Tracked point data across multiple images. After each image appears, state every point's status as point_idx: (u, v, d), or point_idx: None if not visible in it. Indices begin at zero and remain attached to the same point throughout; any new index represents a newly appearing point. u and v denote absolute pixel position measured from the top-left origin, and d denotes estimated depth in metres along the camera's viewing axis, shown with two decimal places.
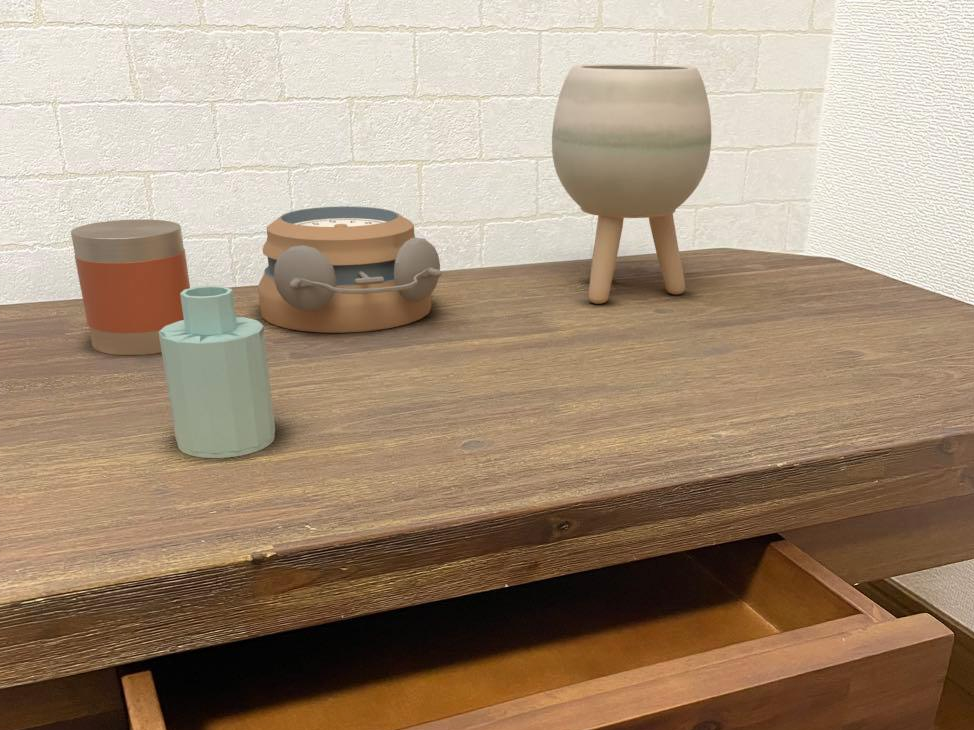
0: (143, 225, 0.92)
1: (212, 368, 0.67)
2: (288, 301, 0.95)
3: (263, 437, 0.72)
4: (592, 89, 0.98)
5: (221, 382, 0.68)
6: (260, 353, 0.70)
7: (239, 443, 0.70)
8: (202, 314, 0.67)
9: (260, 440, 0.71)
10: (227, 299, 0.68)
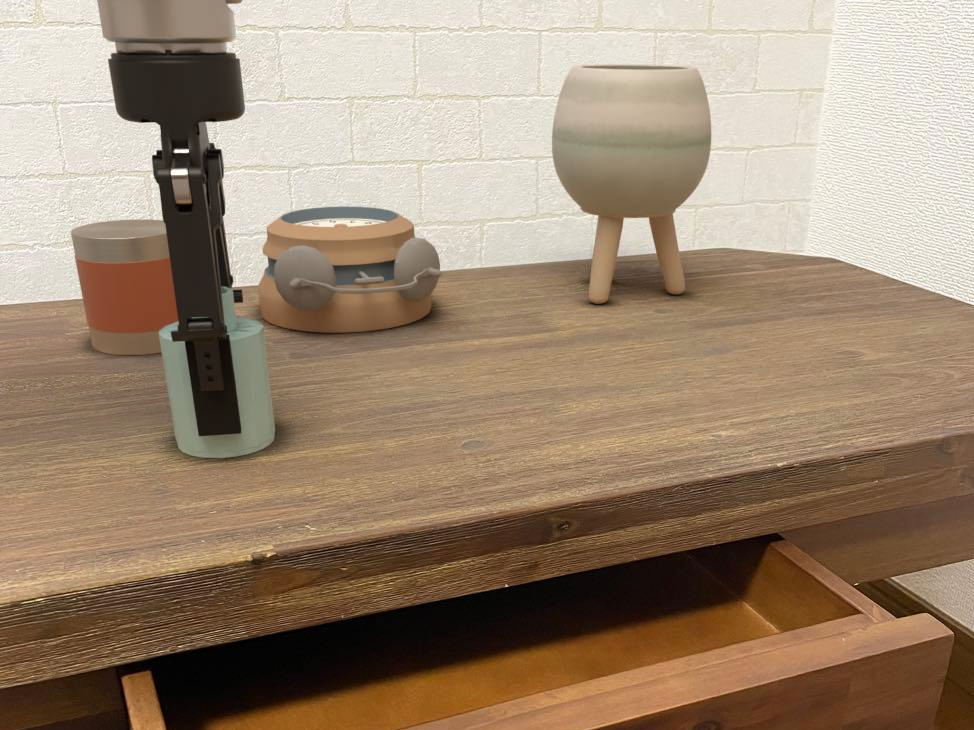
0: (143, 225, 0.92)
1: None
2: (288, 301, 0.95)
3: (263, 437, 0.72)
4: (592, 89, 0.98)
5: None
6: (260, 353, 0.70)
7: (239, 443, 0.70)
8: None
9: (260, 440, 0.71)
10: (227, 299, 0.68)
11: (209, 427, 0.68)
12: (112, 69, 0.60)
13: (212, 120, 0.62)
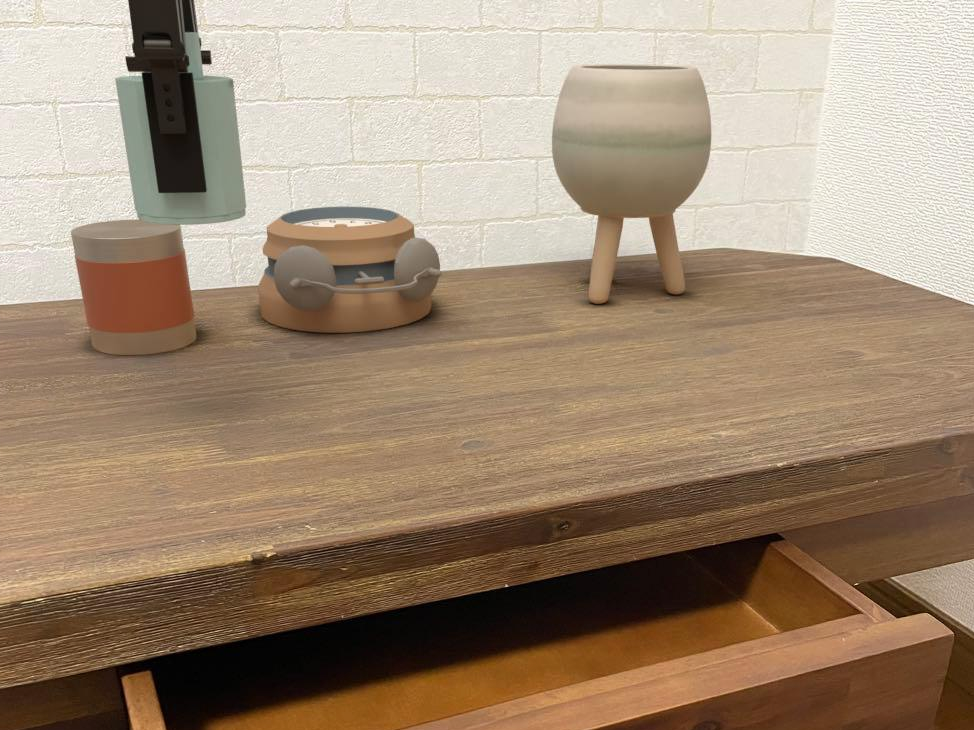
0: (143, 225, 0.92)
1: None
2: (288, 301, 0.95)
3: (232, 207, 0.65)
4: (592, 89, 0.98)
5: None
6: (228, 106, 0.63)
7: (205, 208, 0.63)
8: None
9: (228, 209, 0.64)
10: (191, 39, 0.61)
11: (170, 182, 0.61)
12: None
13: None
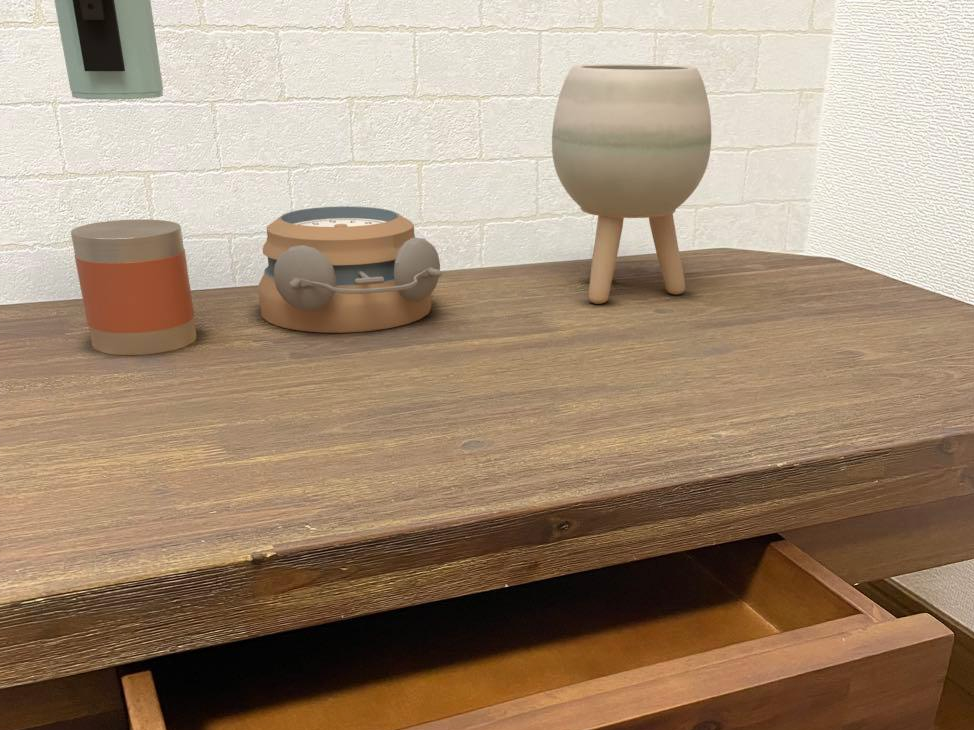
0: (143, 225, 0.92)
1: None
2: (288, 301, 0.95)
3: (148, 86, 0.79)
4: (592, 89, 0.98)
5: None
6: (143, 1, 0.77)
7: (124, 86, 0.78)
8: None
9: (145, 88, 0.79)
10: None
11: (94, 62, 0.76)
12: None
13: None
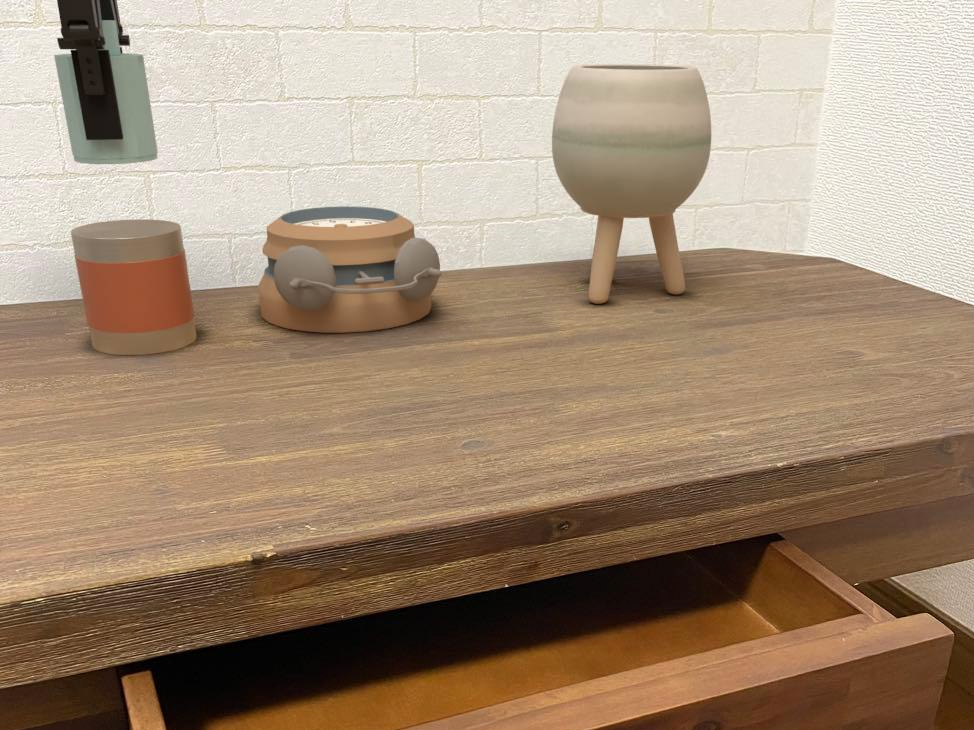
0: (143, 225, 0.92)
1: None
2: (288, 301, 0.95)
3: (144, 151, 0.86)
4: (592, 89, 0.98)
5: None
6: (139, 75, 0.84)
7: (123, 151, 0.85)
8: None
9: (142, 153, 0.86)
10: (109, 25, 0.83)
11: (95, 132, 0.83)
12: None
13: None
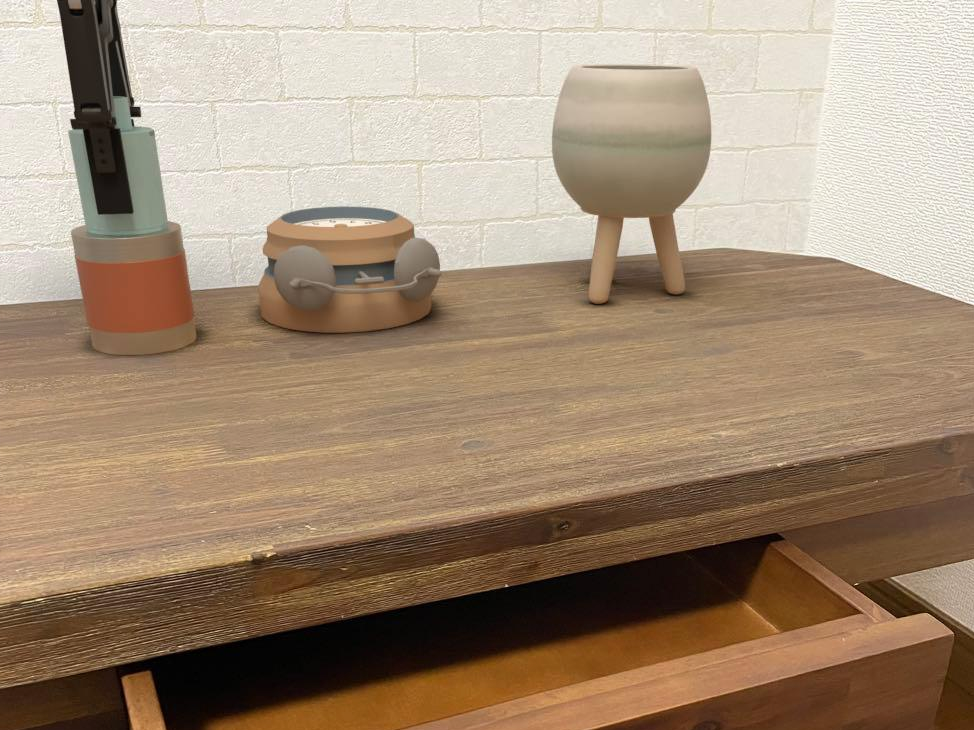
0: None
1: None
2: (288, 301, 0.95)
3: (155, 222, 0.89)
4: (592, 89, 0.98)
5: None
6: (150, 149, 0.87)
7: (134, 223, 0.87)
8: None
9: (152, 224, 0.89)
10: (122, 103, 0.85)
11: (106, 207, 0.85)
12: None
13: None
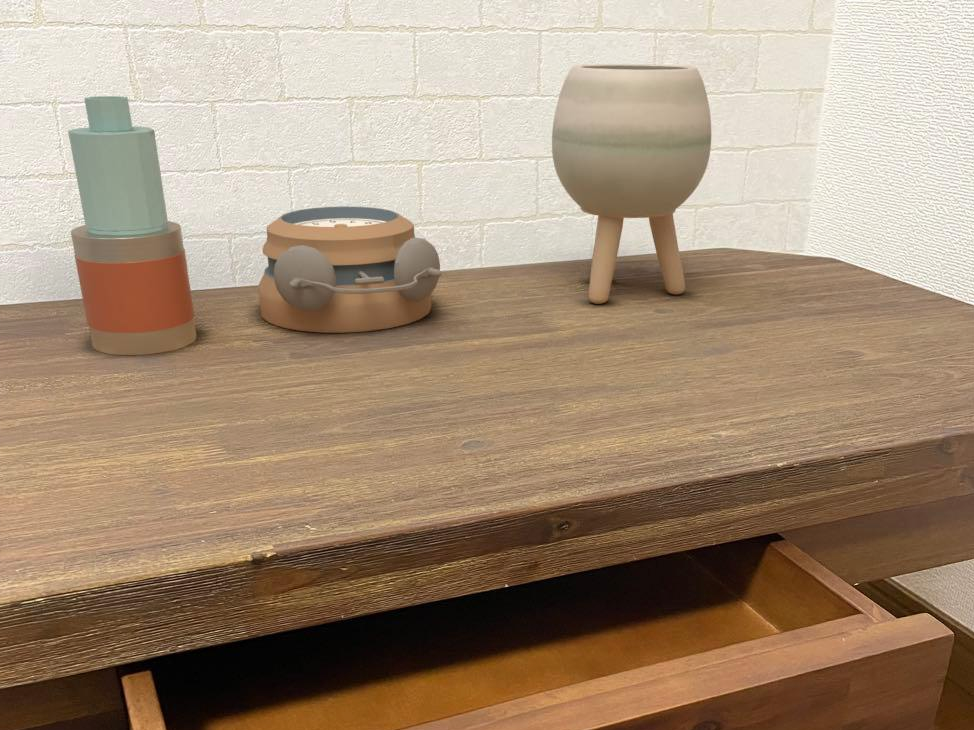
0: None
1: (109, 156, 0.85)
2: (288, 301, 0.95)
3: (155, 222, 0.89)
4: (592, 89, 0.98)
5: (117, 169, 0.85)
6: (150, 149, 0.87)
7: (134, 223, 0.87)
8: (101, 113, 0.85)
9: (152, 224, 0.89)
10: (122, 103, 0.85)
11: None
12: None
13: None
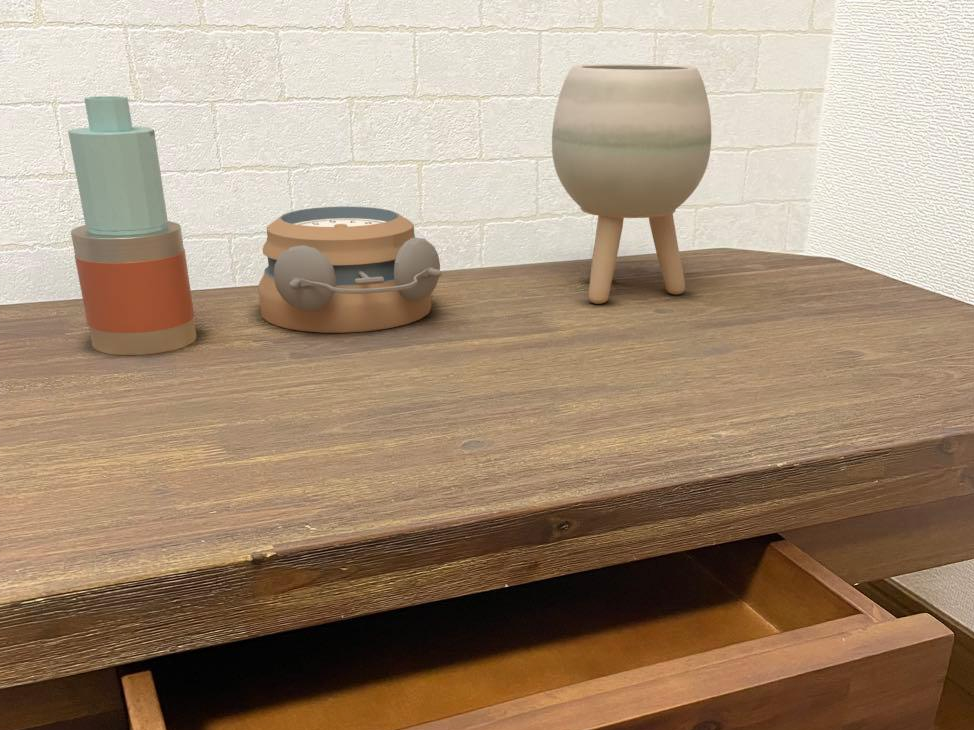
0: None
1: (109, 156, 0.85)
2: (288, 301, 0.95)
3: (155, 222, 0.89)
4: (592, 89, 0.98)
5: (117, 169, 0.85)
6: (150, 149, 0.87)
7: (134, 223, 0.87)
8: (101, 113, 0.85)
9: (152, 224, 0.89)
10: (122, 103, 0.85)
11: None
12: None
13: None
